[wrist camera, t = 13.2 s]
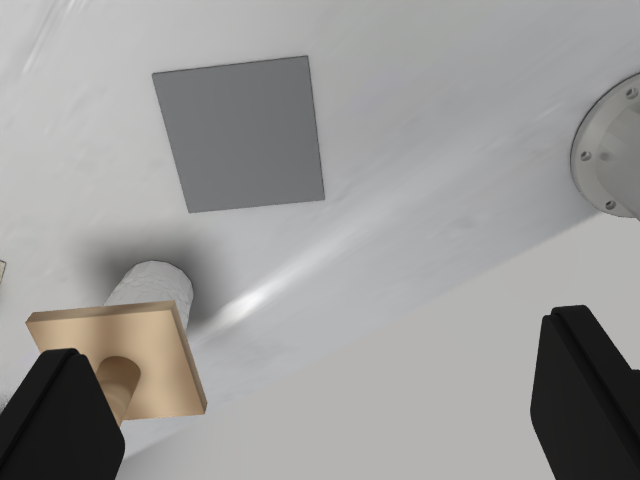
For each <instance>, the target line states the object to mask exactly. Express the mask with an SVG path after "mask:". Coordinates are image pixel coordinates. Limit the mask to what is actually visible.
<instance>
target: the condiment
mask: <svg viewBox="0 0 640 480" xmlns="http://www.w3.org/2000/svg"><path fill="white" fill-rule="evenodd" d="M5 264H6V263H3V262H1V261H0V282H1V278H2V274H3V271H4V267H5Z"/></svg>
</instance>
